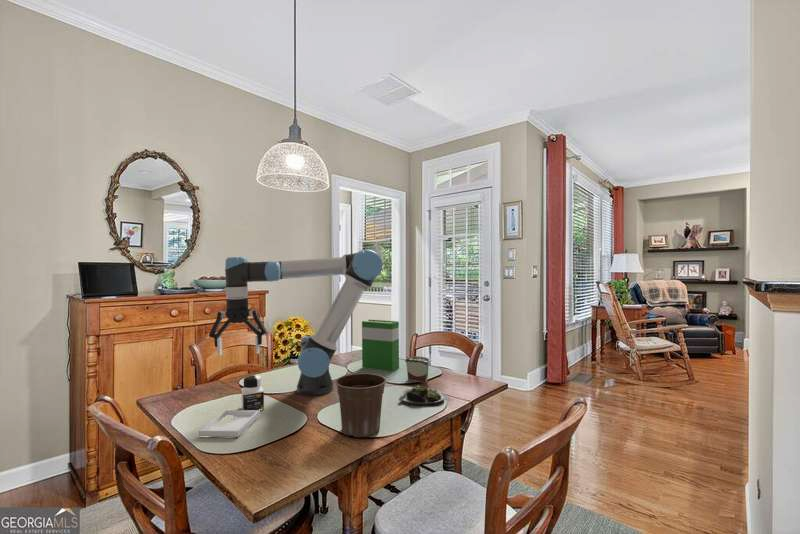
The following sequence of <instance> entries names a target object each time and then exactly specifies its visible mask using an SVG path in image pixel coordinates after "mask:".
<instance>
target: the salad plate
mask: <svg viewBox="0 0 800 534" xmlns="http://www.w3.org/2000/svg"><path fill="white" fill-rule="evenodd" d="M400 394H401V396H400V397H399V398H398V401H400V402H402V403H404V404H405V405H407V404H408V406H411V405H413V406H414V407H433V405H434V406H438V404H439V405H440V403H441V404H442V403H443V402H444V400H445V397H444V395H443V394H442V392H441V390H439V389H437V388H427V386H426V385H425V386H424V385H423V386H422V385H418V384H417V385H414V386H413V387H412V388H409V389H408V388H407V389H405V390H402V391H401V393H400ZM413 406H412V407H413Z"/></svg>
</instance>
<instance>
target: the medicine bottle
mask: <svg viewBox="0 0 800 534" xmlns="http://www.w3.org/2000/svg"><path fill="white" fill-rule="evenodd" d="M240 390H241V393H240V394H241V410H242V409H243V410H259V409H264V410H265V398H264V397H265V390H264V389H263V387H262V377H261V376H260V375H255V374H254V375H253V374H252V375H248V376H246V377H244V378H243V387H242V388H241V389H240Z"/></svg>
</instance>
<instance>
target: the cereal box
mask: <svg viewBox="0 0 800 534" xmlns="http://www.w3.org/2000/svg"><path fill="white" fill-rule="evenodd" d="M399 325H400V323H399V321H397V320H396V321H395V320H382V319H368V320H367V321H365V320H363V321H361V352H362V353H361V356H362V357H361V360H362V362H361V367H364V369H369V368H371V369H370V370H378V371H383V372H385V371H386V372H394V371H396V370H398V369H399V368H400V328H399V327H400V326H399Z"/></svg>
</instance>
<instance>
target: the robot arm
mask: <svg viewBox="0 0 800 534" xmlns="http://www.w3.org/2000/svg"><path fill="white" fill-rule="evenodd" d="M224 265H225V268H224V272H225V274H224V275H225V298H227V299H226V300H225V301H226V302H225V303H226V311H223V310H220V311H217V315H216V320H215V322H214V323H213V326H212V327H211V330H210V332H209V334H208V337H209V338H213V339H214V347H215V348H217V357H220V356H222V355H223V338H222V336H221V335H222V334H223V333H224V332H225V330H226V329H227V328H228V327H229V326H230V324H231V323H232V324H236V323H237V324H238V323H239V324H242V323H244V324H245V325H247V326H248V327H249V328H250V330H251V331H252V332H253V333H254V334H255V338H254V339H255V340H254V341H255V355H259V354H260V350H261V349H260V345H263V344H262V343H263V335H264V336H265V334H267V333H268V331H267V329H266V327H265V325H264V323H263V322H262V321H261V318H260V316H259V314H258V310H257V309H255V310H249V298H247V297H248V295H249V290H248V289H249V288H248V283H252V282H253V283H254V282H261V283H262V282H271V283H272V282H278V281H279V280H287V279H289V280H290V279H299V278H300V279H303V278H315V277H318V278H319V277H328V276H329V277H330V276H344V277H345V280H344V283H343V284H342V286H341V287H340V289H339V291H338V293H337V294H336V297H335V298H334V300H333V302H332V304H331V305H330V307H329V309H328V312H327V313H326V314H325V317H324V319H323V320H322V322H321V323H320V325H319V327H318V329H317V330H316V332H315V333H313V334H311V335H310V336H309V335H308V336H302V337H301V338H300V342H299V343H300V352H299V355H298V357H297V366H298V370H299V371H300V375H299V378H298V382H297V384H296V392H297V394H299V395H301V396H307V397H309V396H310V397H311V396H312V397H314V396H322V395H326V394H329V393H331V392H332V391H333V390H334V382H333V379H332V377H331V373H330V364H331V360H332V359H333V357H334V355H335V353H336V351H337V349H338V348H337V344H336V343H337V342H338V340H339V337H341V334H342V332H343V330H344V328H345V327H346V325H347V323H348V321H349V319H350V318H351V316H352V314H353V313H354V310H355V309H356V307H357V305H358V303H359V301H360V299H361V298H362V295H363V294H364V292H365V290H368V289H371V287H372V286H373V284H374V282H375V280H376V279H377V277H379V276H380V274H381V273H382V270H383V260H382V258H381V255H379V254H378V253H377V252H376V251H374V250H372V249H367V248H366V249H361V250H359V251H358V252H355V253H348V254H347V253H346V254H343V255H342V256H339V257H338V256H337V257H326V258H325V257H324V258H309V259H296V260H295V259H294V260H292V259H291V260H284V261H283V260H281V261H279V260H277V261H270V260H269V261H248V259H247V257H245V256H240V257H239V256H236V257H235V256H233V257H230V256H229V257H226V259H225V264H224ZM249 316H251V317H252V318H253V320H254V321H255V323H256V325H257V326H256V325H255V324H254V323H253V322H252V321H251V319H250V318H249ZM224 317H226V318H227V320H226V321H225V322H224V324H223V325H222V326H221V327H220V329H219V326H220V324H221V322H222V320H223V318H224ZM218 329H219V330H218Z"/></svg>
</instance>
